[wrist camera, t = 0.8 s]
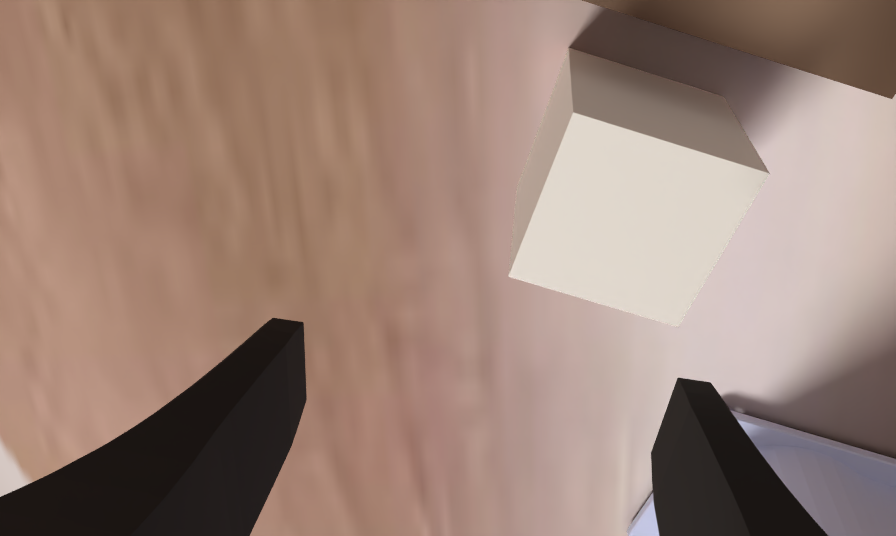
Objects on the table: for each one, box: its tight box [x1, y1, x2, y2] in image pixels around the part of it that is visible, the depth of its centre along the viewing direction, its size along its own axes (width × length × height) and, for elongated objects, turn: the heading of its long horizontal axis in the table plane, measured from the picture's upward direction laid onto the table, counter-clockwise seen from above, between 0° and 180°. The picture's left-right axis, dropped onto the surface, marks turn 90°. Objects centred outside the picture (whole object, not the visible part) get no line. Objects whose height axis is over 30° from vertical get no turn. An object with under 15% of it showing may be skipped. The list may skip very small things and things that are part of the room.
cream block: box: [508, 48, 770, 327], centre depth 18 cm, size 4×4×5 cm
